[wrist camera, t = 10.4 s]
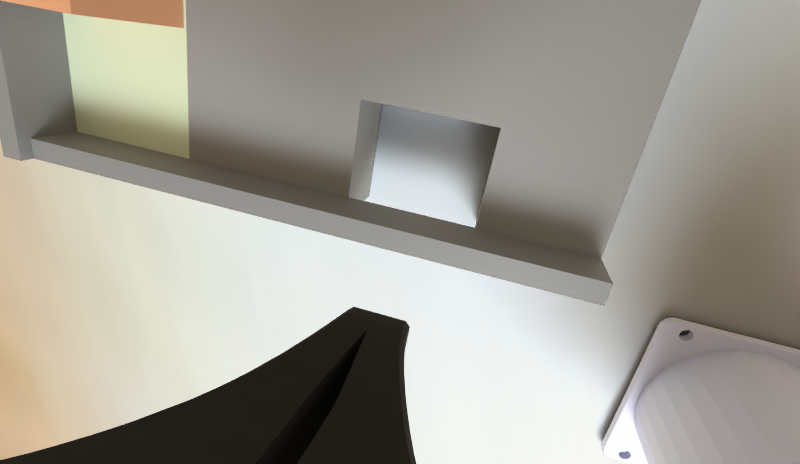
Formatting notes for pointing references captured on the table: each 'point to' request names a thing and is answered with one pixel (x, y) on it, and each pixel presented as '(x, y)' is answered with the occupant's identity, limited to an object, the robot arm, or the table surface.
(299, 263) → the table surface
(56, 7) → the block
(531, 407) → the table surface
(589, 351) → the table surface
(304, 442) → the robot arm
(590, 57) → the board
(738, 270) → the table surface
